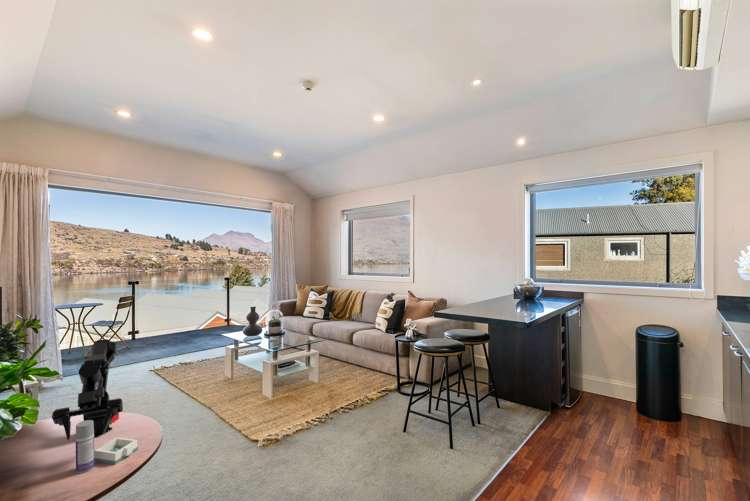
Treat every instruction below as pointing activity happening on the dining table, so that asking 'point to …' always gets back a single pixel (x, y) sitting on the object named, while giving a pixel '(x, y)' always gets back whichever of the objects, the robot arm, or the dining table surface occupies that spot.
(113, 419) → the rubik's cube
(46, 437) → the dining table surface
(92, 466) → the container
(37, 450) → the dining table surface
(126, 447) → the board
